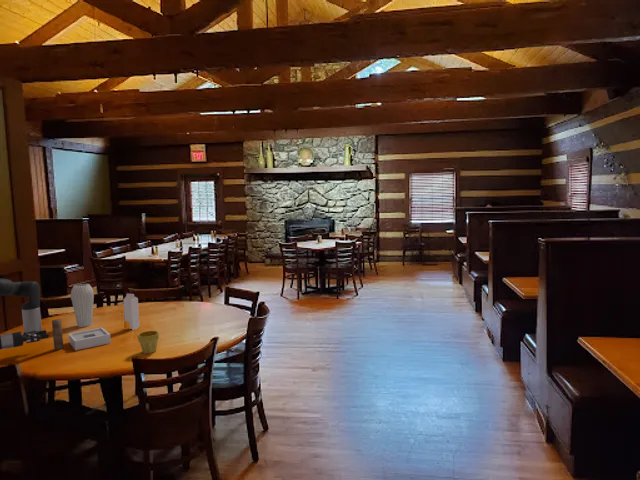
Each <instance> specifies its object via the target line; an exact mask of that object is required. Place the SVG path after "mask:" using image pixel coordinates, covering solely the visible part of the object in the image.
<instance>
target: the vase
mask: <svg viewBox="0 0 640 480" xmlns="http://www.w3.org/2000/svg"><path fill="white" fill-rule="evenodd" d="M94 298H95V292H94V289H93V287H92V286H91V285H90V283H81V284H74V285H73V287H72V288H71V291H70V300H71V303H72V309H73V311H74V315H75V320H76V324H77V327H78V328H87V327H90V326H92V325H93V316H94V315H93V312H94Z"/></svg>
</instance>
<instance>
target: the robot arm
mask: <svg viewBox="0 0 640 480" xmlns="http://www.w3.org/2000/svg"><path fill="white" fill-rule="evenodd" d="M0 296H16V297H21V298H28V300H27V302H24V303H22V304H21V305H20V307H21V316H22V325H23V326H22V327H23V332H22V331H15V332H10V333H5V334H2V335H0V350H5V349H6V350H7V349H12V348H18V347H22V346H24V342H25V343H26V344H30V343H36V342H40V341H41V340H44V339H49V338H50V334H49V333H47V330H45V329H43V328H42V327H43V326H42V316H41V307H40V305H41V288H40V284H39V282H37V281H36V280H35V281H34V280H33V281H31V280H30V281H12V280H11V279H7V278H1V277H0Z"/></svg>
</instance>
